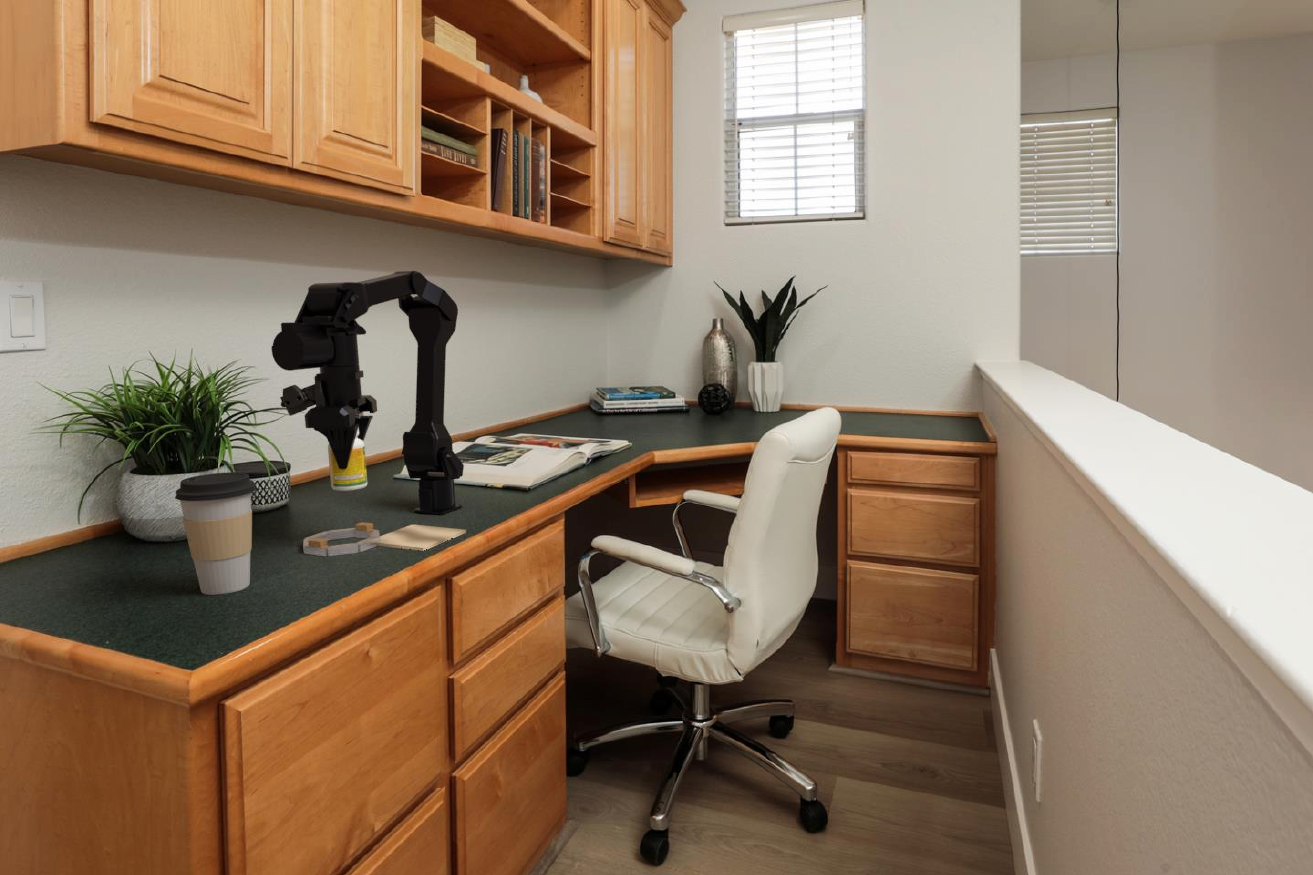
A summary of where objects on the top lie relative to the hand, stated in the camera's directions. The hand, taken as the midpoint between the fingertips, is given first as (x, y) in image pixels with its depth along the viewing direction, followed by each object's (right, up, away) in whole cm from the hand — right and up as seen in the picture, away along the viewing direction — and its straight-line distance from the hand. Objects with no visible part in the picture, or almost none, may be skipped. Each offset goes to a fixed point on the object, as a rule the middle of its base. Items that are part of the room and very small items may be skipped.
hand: (348, 465), depth 124 cm
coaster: (+10, -12, +4) cm, 16 cm away
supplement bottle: (0, -4, +1) cm, 4 cm away
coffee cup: (-9, -16, -18) cm, 26 cm away
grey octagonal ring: (-1, -13, +1) cm, 13 cm away
